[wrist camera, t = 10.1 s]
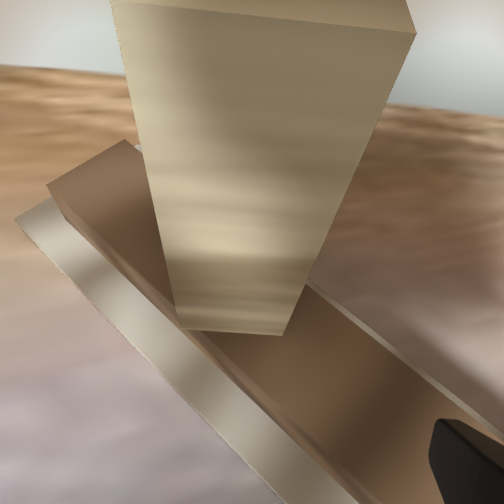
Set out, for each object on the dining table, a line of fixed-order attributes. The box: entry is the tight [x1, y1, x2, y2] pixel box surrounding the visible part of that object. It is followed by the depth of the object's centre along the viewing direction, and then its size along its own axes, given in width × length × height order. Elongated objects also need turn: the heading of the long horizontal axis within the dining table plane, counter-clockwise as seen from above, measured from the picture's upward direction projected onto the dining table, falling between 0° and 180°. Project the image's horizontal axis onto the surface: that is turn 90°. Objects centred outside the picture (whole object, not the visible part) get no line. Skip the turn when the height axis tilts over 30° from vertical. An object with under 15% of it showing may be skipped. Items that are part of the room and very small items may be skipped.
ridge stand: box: [14, 139, 504, 504], centre depth 19 cm, size 30×9×4 cm, turn 48°
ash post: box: [110, 0, 417, 336], centre depth 12 cm, size 4×4×13 cm
